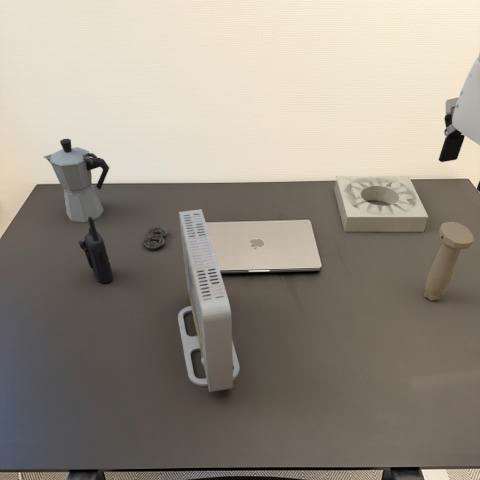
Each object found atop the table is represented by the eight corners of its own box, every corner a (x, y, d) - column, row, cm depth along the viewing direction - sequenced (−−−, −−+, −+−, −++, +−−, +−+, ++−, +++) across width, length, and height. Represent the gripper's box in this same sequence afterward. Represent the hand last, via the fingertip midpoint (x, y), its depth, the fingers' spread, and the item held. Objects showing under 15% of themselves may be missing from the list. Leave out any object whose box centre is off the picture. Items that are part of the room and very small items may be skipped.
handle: (427, 308, 89) (452, 244, 79) (413, 286, 94) (435, 223, 83) (451, 306, 90) (479, 242, 79) (436, 284, 94) (461, 220, 83)
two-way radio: (116, 281, 95) (99, 219, 84) (94, 289, 94) (75, 226, 83) (107, 266, 99) (90, 204, 88) (86, 273, 97) (67, 211, 86)
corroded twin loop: (170, 230, 107) (169, 226, 107) (163, 251, 102) (162, 248, 101) (148, 229, 108) (148, 225, 107) (140, 250, 102) (139, 246, 101)
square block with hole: (404, 190, 119) (408, 176, 116) (423, 231, 107) (428, 216, 104) (334, 190, 119) (336, 176, 117) (344, 231, 107) (347, 216, 104)
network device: (247, 396, 75) (248, 307, 61) (193, 406, 74) (181, 317, 60) (218, 292, 93) (213, 203, 79) (174, 298, 92) (161, 210, 77)
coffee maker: (52, 220, 111) (27, 147, 98) (68, 200, 117) (47, 129, 104) (112, 226, 109) (95, 152, 96) (125, 206, 115) (110, 134, 102)
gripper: (585, 72, 56) (524, 198, 69) (491, 33, 68) (453, 147, 80) (534, 79, 55) (481, 207, 67) (446, 38, 66) (414, 153, 79)
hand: (465, 174), depth 74 cm, fingers open, 9 cm apart
